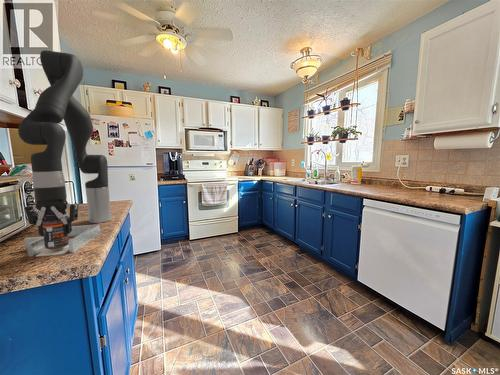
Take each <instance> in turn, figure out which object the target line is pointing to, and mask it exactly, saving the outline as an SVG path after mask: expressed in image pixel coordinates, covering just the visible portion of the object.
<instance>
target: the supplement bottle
mask: <svg viewBox="0 0 500 375" xmlns="http://www.w3.org/2000/svg"><path fill="white" fill-rule="evenodd" d="M63 224H64V223H63V222H62V221H61V219H59V218H58V217H57V216H56V215H46V221H45V222H43V224H42V226H43V234H44V243H45V248H46V249H45V250H47V249H58V248H62V247H65V246H67V245H69V244H68V241H69V238H70V237H68V235H64V229H63Z"/></svg>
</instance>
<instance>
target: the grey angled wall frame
mask: <svg viewBox="0 0 500 375" xmlns="http://www.w3.org/2000/svg"><path fill="white" fill-rule="evenodd" d="M100 227H101V226H100V224H90V225H89V224H86V225H85V224H84V225H72V232H71V233H70V234H68V237H69V238H71V239H70V240H69V241H68V245H69V251H68V252H69V253H70V254H71V253H75V252H77V251H78V250H80V249H81V248H82V247H84V246H85V245H86V244H89V242H91V241H93V239H95V238H97V237H98V236H99V235H101V228H100ZM23 243H24V248H25V251H27V255H28V257H34V256H36V255H38V254H40V253H41V252H43V251H45V250H47V249H46V248H45V243H44V237H41V236H33V237H32V236H31V237H24V238H23Z"/></svg>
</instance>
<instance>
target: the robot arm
mask: <svg viewBox="0 0 500 375" xmlns="http://www.w3.org/2000/svg"><path fill="white" fill-rule="evenodd" d="M39 59H40V63H41V67H42V70H43V72H44V74H45V76H46V79H47V81H48V83H49V85H50V86H48V87H47V88H46V89H44V90H43V91H42V92H41V93H40V94H39V95H38V96H39V97H38V99H37V100H36V104H35V106H34V109H32V110H31V111H30V113H28V114H27V115H26V116H25V117H24V118H23V119H22V121H21V122H20V123H19V125H18V128H17V129H18V131H17V133H18V137H19V139H21V141H22V142H24V143H25V144H28V145H33V146H46V148H45V149H44V150H42V151H40V152H35V153H32V154H31V155H30V164H31V170H32V174H31V175H32V177H31V178H32V179H31V180H32V187H33V194H34V200H35V201H36V203H35V204H34V205H33V204H32V205H31V204H30V205H28V206H24V207H23V208H24V211H25V214H26V217H27V220H28V223H29V225H35V226H37V229H38V235H39V236H40V237H44V234H43V226H42V224H43V222H45V221H46V215H56V216H57V217H58V218H59V219H61V221H62V222H63V223H64V224H63V229H64V235H68V234H70V233H71V232H72V226H73V225H72V223H73V222H75V221H77V220H78V218H79V203H69V202H68V200H67V196H68V194H67V187H66V180H65V175H64V172H63V171H64V170H63V163H62V157H63V156H62V155H63V151H64V148H65V147H64V146H65V143H66V138H67V137H66V136H67V135H66V132H65V129H64V128H63V126H61V125H60V123H62V122H64V124H65V127H66V130H67V132H68V135H69V137H70V140H71V143H72V145H73V146H72V147H73V150H74V153H75V156H76V161H77V165H78V167H79V170H80V172H82V174H84V175H85V174H87V175H88V174H91V175H93V174H97V177H95V178H94V179H90V180H88V181H85V183H84V187H85V188H84V189H85V194H86V195H85V197H86V204H87V206H86V207H87V214H88V215H87V216H88V222H89V224H100V223H101V224H102V223H106V222H109V221H111V220H112V212H111V209H112V208H111V200H110V190H109V174H108V173H109V172H108V167H109V166H108V159H107V157H106V156H105V154H104V155H103V154H88V153H87V149H86V148H87V145H88V142H89V141H90V138H91V136H92V135H93V132H94V125H93V121H92V118H91V115H90V112H89V111H88V110H87V109H86V108H85V107H84V105H82V103H80V102H79V100H78V99H76V98H75V97H74V96H73V95H74V93H75V92H76V90H77V88H78V87H79V86H80V83H81V82H82V80H83V77H84V68H83V64H82V62H81V60H80V58H78V56H76V55H75V54H72V53H68V52H60V51H53V50H42V51H41V52H40V54H39ZM67 210H69V211H67ZM37 211H39V214H38V212H37Z"/></svg>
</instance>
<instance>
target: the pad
mask: <svg viewBox="0 0 500 375" xmlns="http://www.w3.org/2000/svg"><path fill="white" fill-rule="evenodd" d="M68 252H69V244H68V245H67V246H65V247H62V248H58V249H45V250H43V251H41V252H39V253H38V254H36V255H35V257H46V256H47V257H48V256H59V255H60V256H61V255H65V254H66V253H68Z"/></svg>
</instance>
